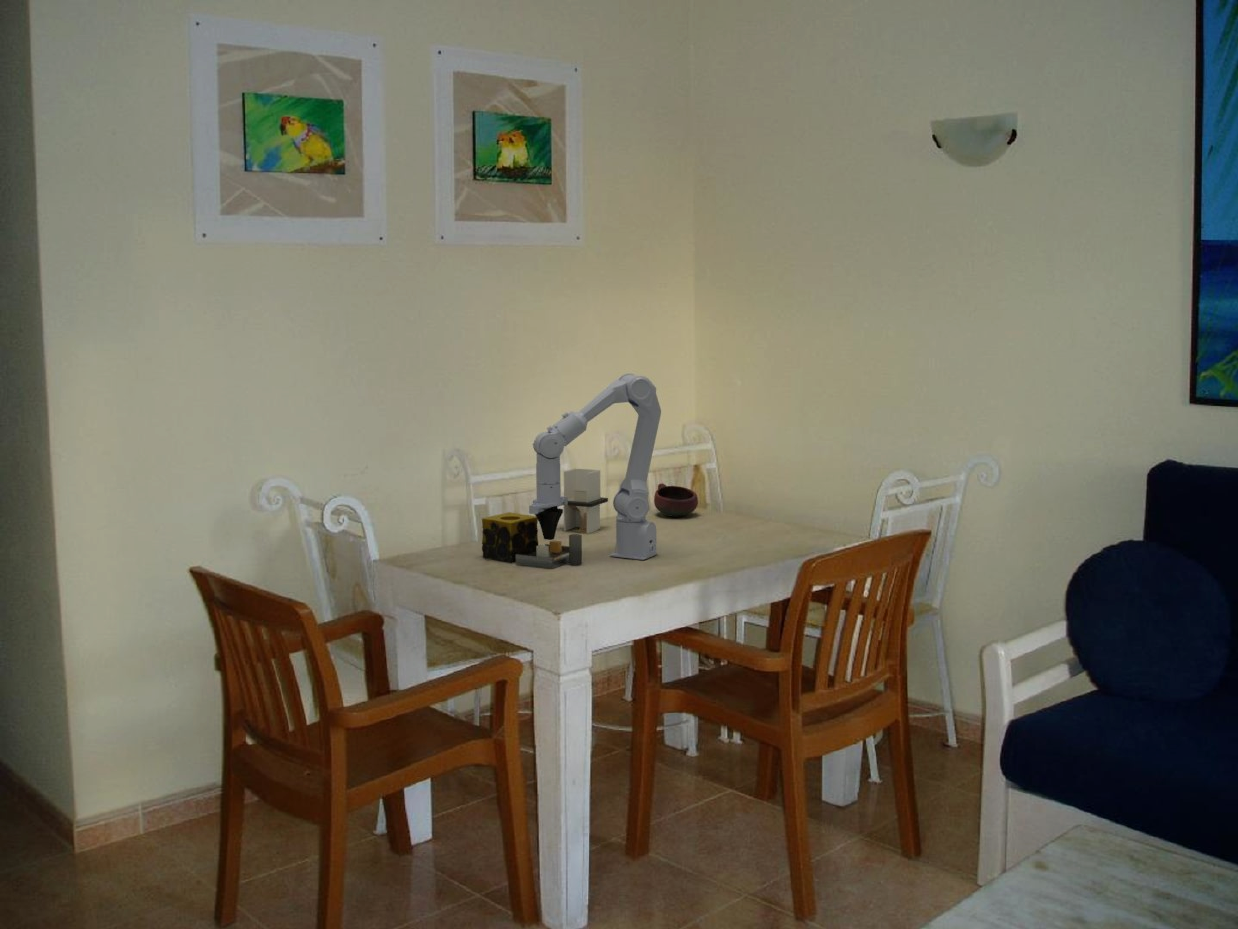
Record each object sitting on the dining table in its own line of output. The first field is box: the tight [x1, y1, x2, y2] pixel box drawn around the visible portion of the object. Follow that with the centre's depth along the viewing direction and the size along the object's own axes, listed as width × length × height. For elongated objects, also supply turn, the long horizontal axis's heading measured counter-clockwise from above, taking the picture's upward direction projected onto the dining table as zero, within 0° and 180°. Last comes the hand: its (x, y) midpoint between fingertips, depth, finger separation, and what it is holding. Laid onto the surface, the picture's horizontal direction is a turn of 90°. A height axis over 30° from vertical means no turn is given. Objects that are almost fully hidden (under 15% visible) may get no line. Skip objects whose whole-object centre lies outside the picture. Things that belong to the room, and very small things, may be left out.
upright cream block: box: [536, 544, 549, 557], centre depth 304 cm, size 2×2×2 cm
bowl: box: [653, 483, 699, 517], centre depth 367 cm, size 16×13×8 cm
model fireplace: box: [563, 467, 609, 535], centre depth 345 cm, size 25×24×16 cm
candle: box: [481, 511, 539, 564], centre depth 311 cm, size 10×10×10 cm
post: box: [568, 533, 583, 567], centre depth 303 cm, size 3×3×7 cm
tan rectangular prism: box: [549, 539, 563, 553], centre depth 309 cm, size 2×2×2 cm
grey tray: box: [515, 543, 569, 570], centre depth 307 cm, size 10×14×2 cm
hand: (549, 539), depth 306 cm, fingers closed
